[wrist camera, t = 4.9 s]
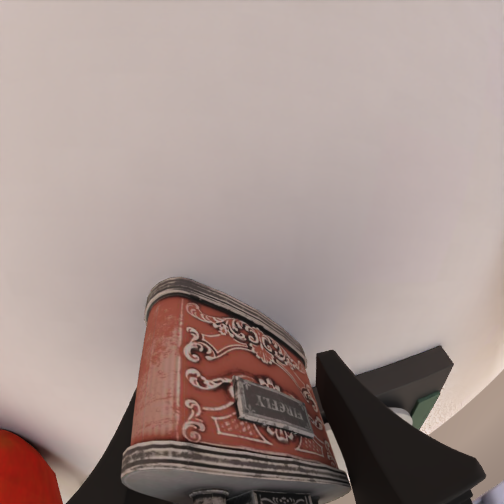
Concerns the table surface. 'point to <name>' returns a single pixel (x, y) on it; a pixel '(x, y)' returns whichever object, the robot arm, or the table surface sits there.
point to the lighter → (225, 407)
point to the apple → (25, 473)
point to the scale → (402, 389)
